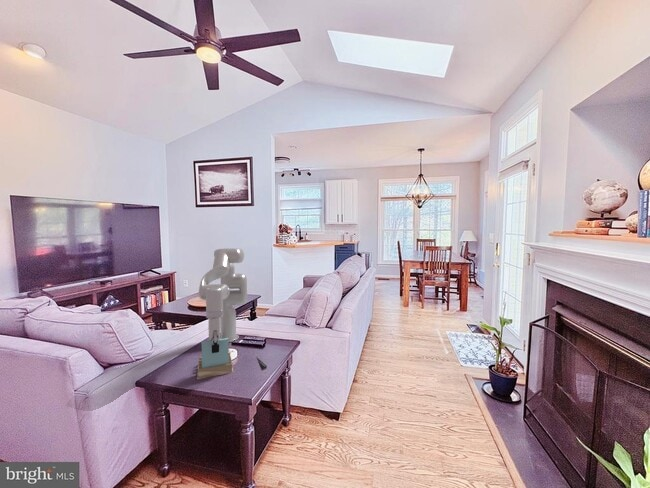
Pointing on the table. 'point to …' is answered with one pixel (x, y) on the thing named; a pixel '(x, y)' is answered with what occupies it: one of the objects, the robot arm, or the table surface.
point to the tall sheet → (215, 358)
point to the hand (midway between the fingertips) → (215, 348)
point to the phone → (261, 364)
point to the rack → (214, 369)
